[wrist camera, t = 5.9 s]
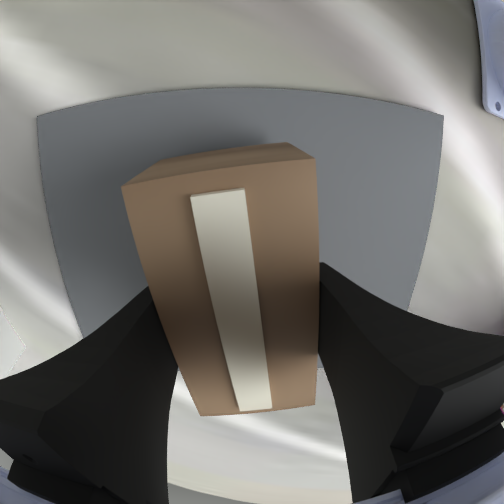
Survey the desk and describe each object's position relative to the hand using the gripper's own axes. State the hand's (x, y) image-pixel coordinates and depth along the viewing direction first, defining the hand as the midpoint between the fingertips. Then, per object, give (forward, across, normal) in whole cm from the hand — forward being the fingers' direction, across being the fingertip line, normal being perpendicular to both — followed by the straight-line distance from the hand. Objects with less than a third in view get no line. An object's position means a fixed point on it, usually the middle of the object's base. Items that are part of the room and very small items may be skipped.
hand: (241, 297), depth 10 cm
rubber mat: (+3, 0, 0) cm, 3 cm away
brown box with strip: (+2, 0, 0) cm, 2 cm away
